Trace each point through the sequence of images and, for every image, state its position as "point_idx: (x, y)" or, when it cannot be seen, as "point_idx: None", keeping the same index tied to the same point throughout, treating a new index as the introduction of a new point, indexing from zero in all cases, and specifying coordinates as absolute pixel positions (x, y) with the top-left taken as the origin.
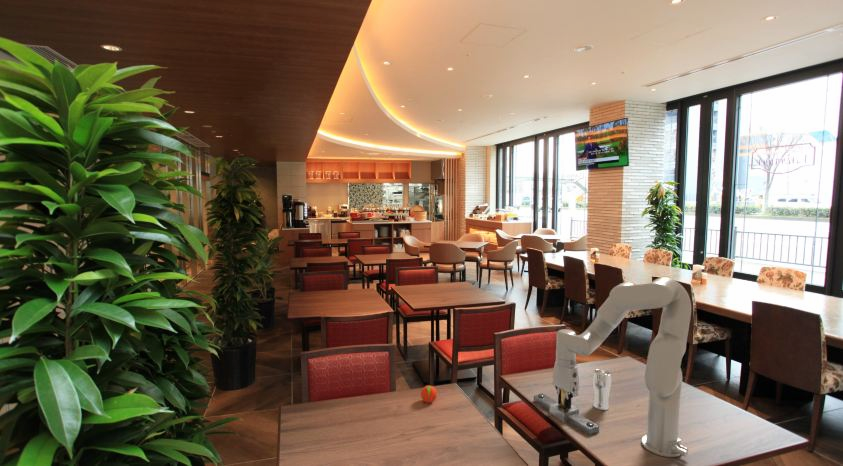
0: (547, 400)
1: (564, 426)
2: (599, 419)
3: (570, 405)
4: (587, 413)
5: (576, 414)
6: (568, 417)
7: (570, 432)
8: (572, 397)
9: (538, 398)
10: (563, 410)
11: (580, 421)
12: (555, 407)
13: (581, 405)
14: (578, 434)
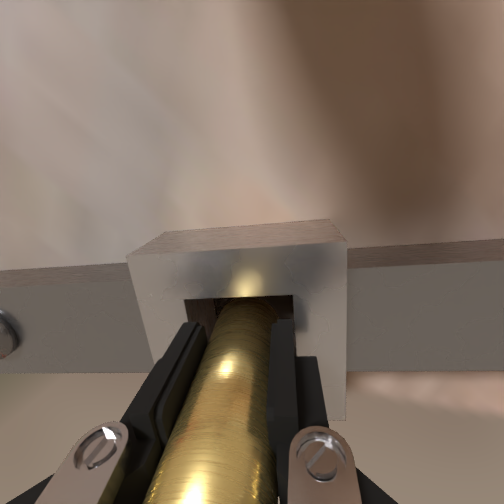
0: (66, 337)
1: (369, 389)
2: (458, 45)
3: (315, 361)
4: (306, 81)
5: (365, 292)
6: (353, 365)
7: (446, 405)
8: (346, 447)
9: (25, 372)
10: None
11: (477, 346)
12: None
13: (151, 14)
14: (497, 383)
